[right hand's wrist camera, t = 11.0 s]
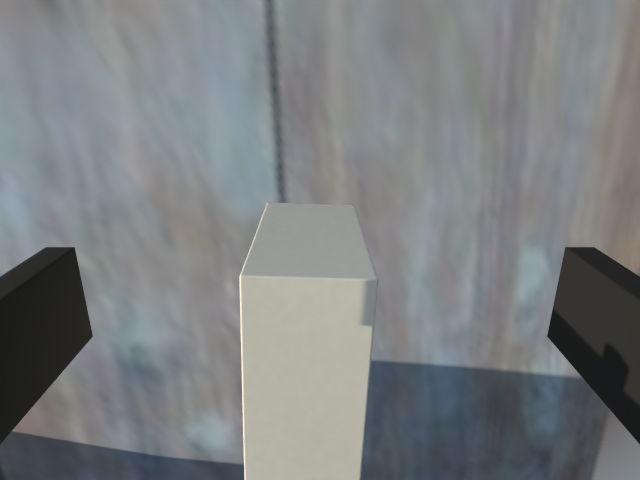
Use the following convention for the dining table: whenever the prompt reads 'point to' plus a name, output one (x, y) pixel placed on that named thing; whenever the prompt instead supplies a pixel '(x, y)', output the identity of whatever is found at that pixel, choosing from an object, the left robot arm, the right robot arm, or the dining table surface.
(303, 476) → the bar
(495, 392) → the dining table surface
